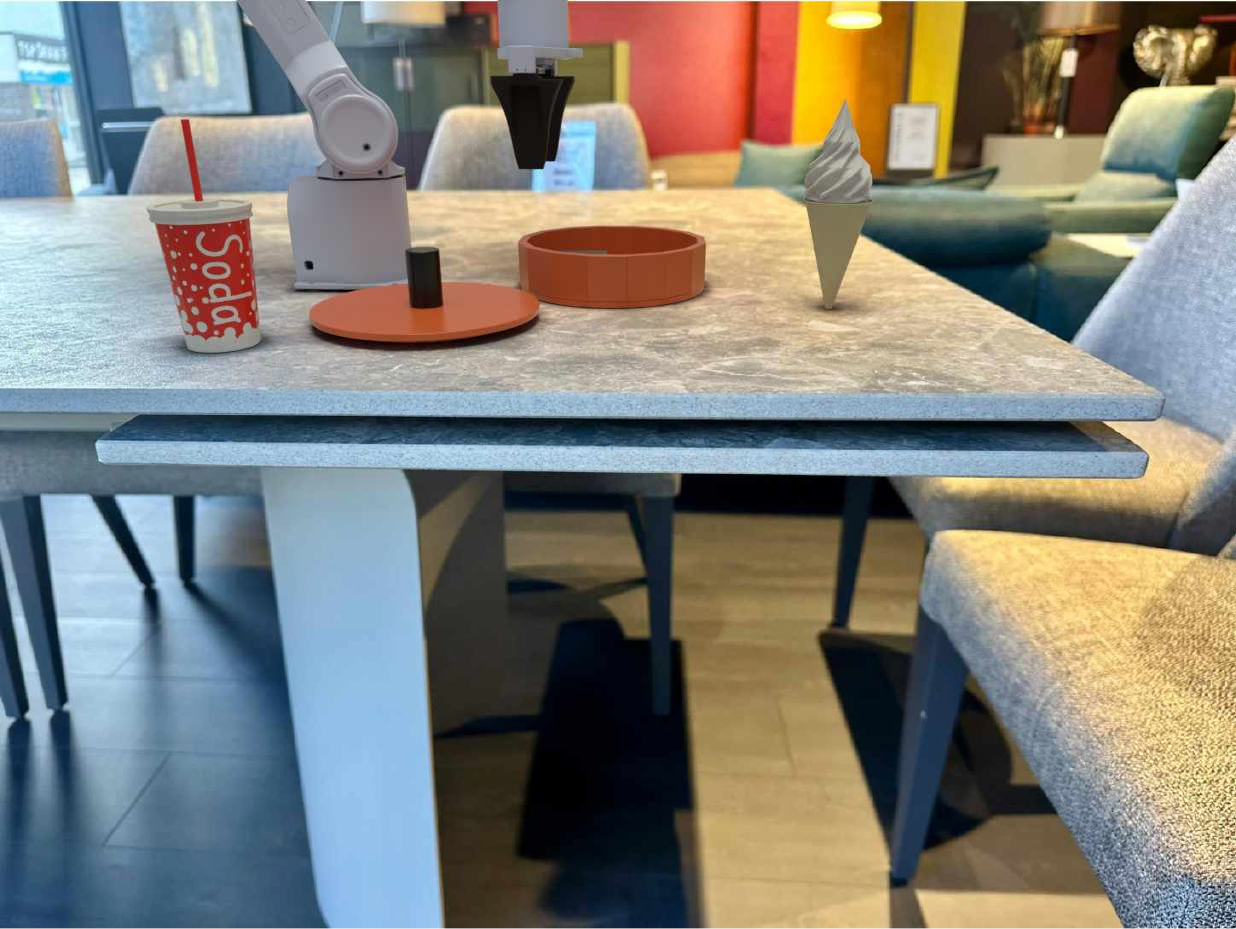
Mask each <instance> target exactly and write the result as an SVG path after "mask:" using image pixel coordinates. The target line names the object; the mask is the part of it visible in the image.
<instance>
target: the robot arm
mask: <svg viewBox="0 0 1236 929" xmlns="http://www.w3.org/2000/svg"><path fill="white" fill-rule="evenodd" d="M235 1H236V2H237V4H238V6H239V7H240V9H241V10H242V11H243V13H244V14H245V16H246V18H247V19H248V20H249V22H250V23H251V25H252V26H253V27H254V29H255V31H256V32H257V34H258V35H259V37H260V38H261V39H262V41H263V42H264V44H265V46H266V47H267V49H268V50H269V51H270V53H271V54H272V56H273V57H274V59H275V61H276V62H277V63H278V65H279V66H280V67H281V68H280V69H282V71H283V72H284V74H285V75H286V77H287V79H288V81H289V82H290V84H291V86H292V87H293V90H294V91H295V93H296V94H297V96H298V97H299V99H300V100H301V103H302V104H303V105H304V107H305V108H306V109H307V112H308V113H309V116H310V119H311V122H312V127H313V135H314V139H315V142H316V145H317V147H318V149H319V151H320V153H321V154H322V155H323V157H324V158H325V160H324V161H323V162H322V163H321V164H320V165H316V166H315V168H314V175H300V176H296V177H294V178H293V179H292V180H291V182H290V184H289V185H288V186H289V187H288V190H287V197H286V211H287V212H286V213H287V221H288V228H289V234H290V235H289V236H290V243H291V250H292V257H293V264H294V271H295V279H296V281H295V282H294V283H293V288H294V289H296V290H352V291H356V290H361V289H367V288H372V287H380V286H387V285H396V284H408V279H407V268H406V257H405V250H406V249H409V248H413V247H412V237H411V226H410V215H409V202H408V192H407V182H406V174H405V173H406V168H405V167H404V166H400V165H398V164H396V163H395V162H394V161H393V160H392V158H393V156H394V155H395V153H396V150H397V146H398V143H399V126H398V123H397V119H396V117H395V115H394V113H393V110H392V109H391V107H389V105H388V104H387V103H386V102H385V100H383V99H382V98H381V97H380V96H378V95H376V94H375V93H374V92H372V91H370V90H369V89H367V88H366V87H365V86H364V85H362V84H361V82H359V80H358V79H357V77H356V76H355V75H354V73H353V72H352V70H351V69H350V66H349V65H348V63H347V62H346V61H345V59H344V58H343V56H342V54H341V53H340V51H339V49H338V48H337V46H336V45H335V44H334V42H333V41H332V38H331V37H330V36H329V34H328V32H326V31H327V30H325V27H323V25H322V23H321V22H320V21H319V19H318V17H317V15H316V14H315V13H314V11H313V9H312V8H311V6H310V5H309V3H308V1H307V0H235ZM497 17H498V18H497V20H498V21H497V22H498V40H499V41H498V42H499V43H498V44H499V48H496V51H497V53H496V54H497V59H498V60H506V61H507V69H508V74H512V75H489V79H490V85H491V88H492V89H493V92H494V93H495V95H496V97H497V99H498V102H499V104H500V106H501V109H502V111H503V114H504V117H505V120H506V124H507V128H508V130H509V136H510V140H511V144H512V145H511V146H512V150H513V154H514V159H515V161H516V162H515V163H516V165H517V168H518V170H544V169H545V166H546V162H551V163H553V162H554V163H555V162H556V159H557V156H558V151H559V145H560V138H561V132H562V124H563V118H564V113H565V109H566V106H567V102H568V100H569V97H570V95H571V92H572V91H573V90H572V89H573V88H574V85H575V82H576V77H575V75H558V61H568V60H571V59H575V58H576V59H578V58H579V59H580V58H582V59H583V58H584V49H583V48H580V47H579V48H575V47H574V48H572V47H571V48H570V44H569V43H570V42H569V41H570V40H569V0H497Z"/></svg>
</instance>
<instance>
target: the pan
mask: <svg viewBox="0 0 1236 929" xmlns="http://www.w3.org/2000/svg"><path fill="white" fill-rule="evenodd" d="M517 250H518V252H517V253H518V273H519V274H518V275H519V284H520V286H521V290H522V291H525V292H527V293H530V294H532V295H533V296H535V297H536V298H537V299H538V300H539V301H540V302H545V303H549V304H553V305H554V304H555V305H561V306H567V307H568V306H569V307H576V308H577V307H579V308H593V309H633V308H634V309H635V308H647V307H657V306H663V305H670V304H676V303H679V302H685V301H688V300H690V299H694V298H695V297H697V296H699V295H700V294H702V292H703V291H704V289H705V288H704V287H705V284H706V282H705V281H706V256H707V241H706V238H705V237H704V236H702V235H700V234H697V233H695V232H691V231H687V230H681V229H675V228H669V227H668V228H667V227H657V226H645V225H609V224H607V225H604V224H603V225H602V224H601V225H599V224H598V225H584V226H581V225H580V226H567V227H566V226H565V227H559V228H552V229H544V230H538V231H535V232H531V233H527V234H525V235H522V236H521V237H520V239H519V240H518V241H517ZM552 250H596V251H608V254H581V253H569V252H558V251H552Z"/></svg>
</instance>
